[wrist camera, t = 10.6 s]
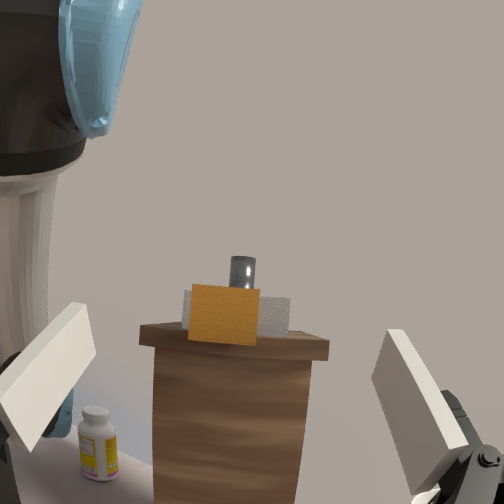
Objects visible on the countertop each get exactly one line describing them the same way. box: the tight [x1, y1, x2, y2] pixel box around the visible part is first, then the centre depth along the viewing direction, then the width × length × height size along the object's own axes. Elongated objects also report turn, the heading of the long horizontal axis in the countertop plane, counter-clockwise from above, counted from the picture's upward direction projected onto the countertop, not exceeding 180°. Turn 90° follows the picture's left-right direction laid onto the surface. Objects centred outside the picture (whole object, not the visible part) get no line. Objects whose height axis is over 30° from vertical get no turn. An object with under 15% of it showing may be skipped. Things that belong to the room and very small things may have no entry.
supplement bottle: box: [78, 406, 118, 481], centre depth 41 cm, size 7×7×13 cm
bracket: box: [182, 256, 290, 346], centre depth 24 cm, size 20×8×7 cm, turn 0°
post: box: [139, 322, 329, 504], centre depth 26 cm, size 14×14×30 cm
